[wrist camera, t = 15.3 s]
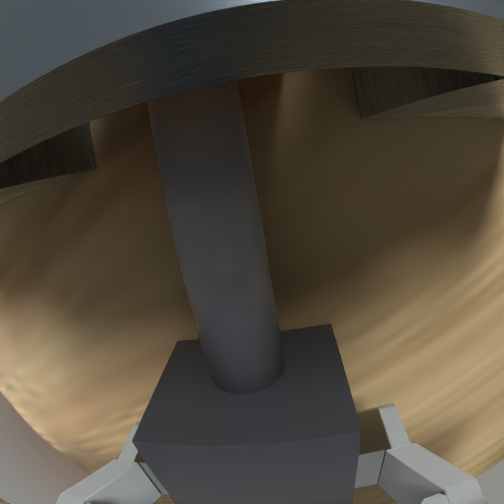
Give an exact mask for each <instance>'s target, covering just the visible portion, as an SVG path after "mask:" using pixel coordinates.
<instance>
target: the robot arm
mask: <svg viewBox="0 0 504 504" xmlns="http://www.w3.org/2000/svg"><path fill="white" fill-rule="evenodd" d="M356 414H357V417H358V421H359V425H360V429H361V437H360V447H359V457H358V465H357V473H356V481H355V488H358V487H364V486H369V485H374V484H378V486H379V487H380V488H381V489H382V490H384V491H385V492H386V493H387V494H388V495H389V496H390V497H391V498H393V499H394V500H395V501H396V502H397V503H398V504H487V503H486V500H485V498H484V495H483V493H482V491H481V489H480V486H479V484H478V482H477V479H476V478H475V477H473V476H472V475H470V474H468V473H466V472H465V471H463V470H461V469H459V468H457V467H456V466H454V465H452V464H451V463H449V462H447V461H445V460H444V459H442V458H440V457H439V456H437V455H435V454H434V453H432V452H430V451H429V450H427V449H425V448H424V447H422V446H420V445H419V444H417V443H412V444H411V443H410V441H409V438H408V435H407V433H406V430H405V428H404V425H403V423H402V420H401V418H400V415H399V413H398V410H397V408H396V405H394V404H393V403H392V404H388V405H383V406H379V407H373V408H369V409H364V410H359V411H356ZM139 424H140V423H138V422H137V423H136V424H135V425H134V426H133V428H132V430H131V432H130V434H129V437H128V439H127V441H126V443H125V445H124V447H123V449H122V452H121V454H120V456H119V458H118V460H117V459H113V460H112V461H110V462H109V463H107V464H106V465H104V466H103V467H101V468H100V469H98V470H97V471H95V472H94V473H92V474H91V475H89V476H88V477H86V478H85V479H83V480H82V481H80V482H78V483H77V484H75V485H73V486H72V487H70V488H69V489H67V490H65V491H64V492H62V493H61V495H60V497H59V498H58V500H57V502H56V504H153V503H154V502H155V501H156V500H158V499H159V498H160V497H161V494H165V495H169V494H168V492H167V491H166V490H165V489H164V487H163V486H162V485H161V483H160V482H159V480H158V479H157V478H156V476H155V475H154V474H153V472H152V471H151V469H150V468H149V466H148V465H147V464H146V462H145V461H144V459H143V458H142V456H141V455H140V453H139V452H138V450H137V449H136V447H135V446H134V444H133V442H132V439H133V437H134V435H135V433H136V430H137V428H138V426H139ZM0 504H9V503H7V502H5V501H4V500H2V499H0Z"/></svg>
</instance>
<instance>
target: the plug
mask: <svg viewBox="0 0 504 504" xmlns="http://www.w3.org/2000/svg"><path fill="white" fill-rule="evenodd" d="M147 108H148V114H149V120H150V126H151V132H152V138H153V143H154V149H155V154H156V160H157V165H158V170H159V175H160V180H161V185H162V190H163V195H164V200H165V204H166V209H167V214H168V218H169V223H170V227H171V231H172V236H173V240H174V244H175V248H176V252H177V257H178V261H179V265H180V269H181V273H182V277H183V280H184V284H185V288H186V292H187V296H188V299H189V303H190V307H191V310H192V314H193V318H194V321H195V325H196V328H197V332H198V335H199V339H200V340H189V341H178V342H177V344H176V346H175V348H174V350H173V352H172V354H171V356H170V358H169V361H168V363H167V365H166V367H165V369H164V371H163V373H162V376H161V378H160V380H159V382H158V384H157V386H156V389H155V391H154V393H153V395H152V397H151V399H150V402H149V404H148V406H147V408H146V410H145V413H144V415H143V417H142V419H141V421H140V424H139V426H138V428H137V430H136V433H135V435H134V437H133V439H132V442H133V444H134V446H135V447H136V449H137V450H138V452H139V453H140V455H141V456H142V458H143V459H144V461H145V462H146V464H147V465H148V466H149V468H150V469H151V471H152V472H153V474H154V475H155V476H156V478H157V479H158V480H159V482H160V483H161V485H162V486H163V487H164V489H165V490H166V491H167V492H168V494H169V495H170V496H171V498H172V499H173V500H174V501H175V503H176V504H352V501H353V495H354V488H355V481H356V473H357V465H358V457H359V447H360V437H361V429H360V425H359V421H358V417H357V414H356V410H355V406H354V402H353V399H352V395H351V391H350V388H349V384H348V381H347V377H346V373H345V370H344V366H343V363H342V360H341V356H340V353H339V349H338V346H337V343H336V339H335V336H334V333H333V329H332V326H331V324H328V325H322V326H315V327H308V328H301V329H294V330H287V331H280V330H279V323H278V317H277V311H276V304H275V298H274V292H273V286H272V279H271V273H270V267H269V261H268V255H267V249H266V243H265V237H264V231H263V225H262V219H261V213H260V207H259V201H258V195H257V189H256V183H255V178H254V172H253V166H252V160H251V155H250V149H249V143H248V138H247V132H246V126H245V121H244V115H243V110H242V104H241V99H240V93H239V88H238V82H237V80H235V81H230V82H225V83H220V84H215V85H211V86H206V87H202V88H197V89H193V90H189V91H185V92H181V93H177V94H173V95H170V96H166V97H162V98H159V99H155V100H152V101H149V102H147Z"/></svg>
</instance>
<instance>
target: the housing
mask: <svg viewBox="0 0 504 504" xmlns="http://www.w3.org/2000/svg"><path fill="white" fill-rule="evenodd" d="M341 67H351V69H352V74H353V78H354V83H355V88H356V93H357V99H358V104H359V110H360V115H361V119H371V118H389V117H422V116H449V117H481V118H498V119H504V0H0V205H1V204H3V203H6V202H8V201H10V200H13V199H15V198H18V197H20V196H23V195H25V194H28V193H30V192H33V191H35V190H38V189H41V188H43V187H46V186H49V185H52V184H54V183H57V182H60V181H63V180H66V179H69V178H71V177H74V176H77V175H80V174H83V173H87V172H90V171H93V170H96V166H95V160H94V155H93V149H92V143H91V137H90V130H89V123H88V122H90V121H93V120H95V119H98V118H101V117H103V116H106V115H109V114H112V113H115V112H118V111H120V110H123V109H126V108H129V107H133V106H136V105H139V104H142V103H145V102H149V101H152V100H155V99H159V98H162V97H166V96H170V95H173V94H177V93H181V92H185V91H189V90H193V89H197V88H202V87H206V86H211V85H215V84H220V83H225V82H230V81H235V80H241V79H246V78H252V77H258V76H265V75H271V74H279V73H286V72H295V71H304V70H314V69H326V68H341Z"/></svg>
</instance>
